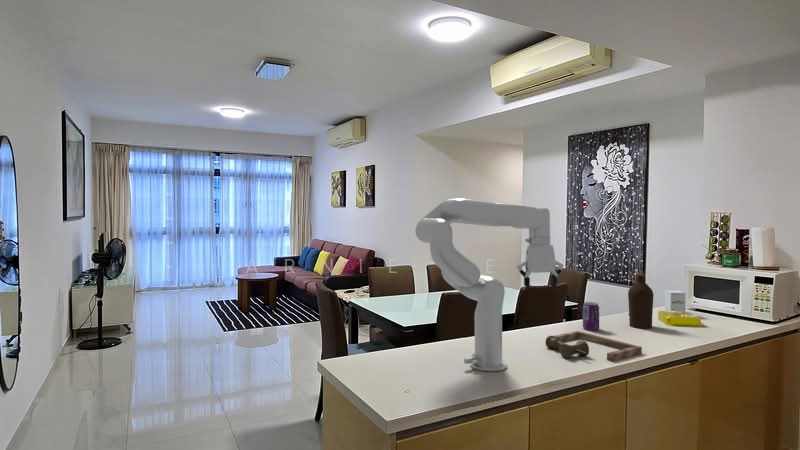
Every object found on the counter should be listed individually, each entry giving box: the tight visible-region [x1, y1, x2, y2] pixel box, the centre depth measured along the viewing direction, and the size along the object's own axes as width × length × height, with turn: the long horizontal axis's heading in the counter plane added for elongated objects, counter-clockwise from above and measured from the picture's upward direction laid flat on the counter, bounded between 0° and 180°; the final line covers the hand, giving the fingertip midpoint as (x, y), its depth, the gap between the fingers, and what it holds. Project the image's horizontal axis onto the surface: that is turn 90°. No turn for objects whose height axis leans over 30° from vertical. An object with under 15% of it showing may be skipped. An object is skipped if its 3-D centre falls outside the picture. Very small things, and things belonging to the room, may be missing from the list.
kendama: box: [545, 335, 590, 360], centre depth 174 cm, size 6×10×20 cm
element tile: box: [657, 310, 702, 328], centre depth 223 cm, size 15×15×5 cm
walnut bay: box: [553, 330, 643, 362], centre depth 181 cm, size 18×29×2 cm, turn 30°
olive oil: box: [627, 272, 654, 330], centre depth 215 cm, size 11×11×25 cm
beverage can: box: [582, 301, 600, 331], centre depth 211 cm, size 7×7×12 cm
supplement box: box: [664, 289, 687, 312], centre depth 239 cm, size 7×7×13 cm
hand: (540, 287), depth 169 cm, fingers open, 9 cm apart
